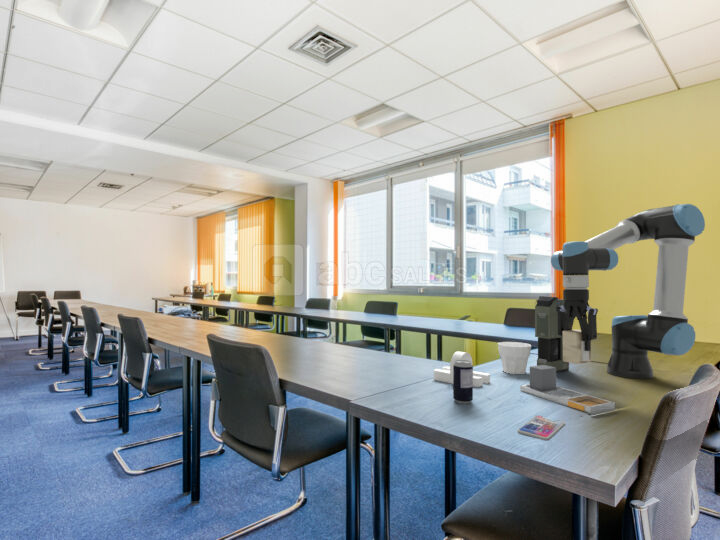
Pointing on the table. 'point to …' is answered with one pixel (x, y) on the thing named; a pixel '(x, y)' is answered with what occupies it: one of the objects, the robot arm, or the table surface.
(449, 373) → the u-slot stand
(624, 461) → the table surface
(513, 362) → the cup
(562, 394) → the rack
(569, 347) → the panel block
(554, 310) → the device
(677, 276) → the robot arm
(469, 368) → the beverage can
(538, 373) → the blank block
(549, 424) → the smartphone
